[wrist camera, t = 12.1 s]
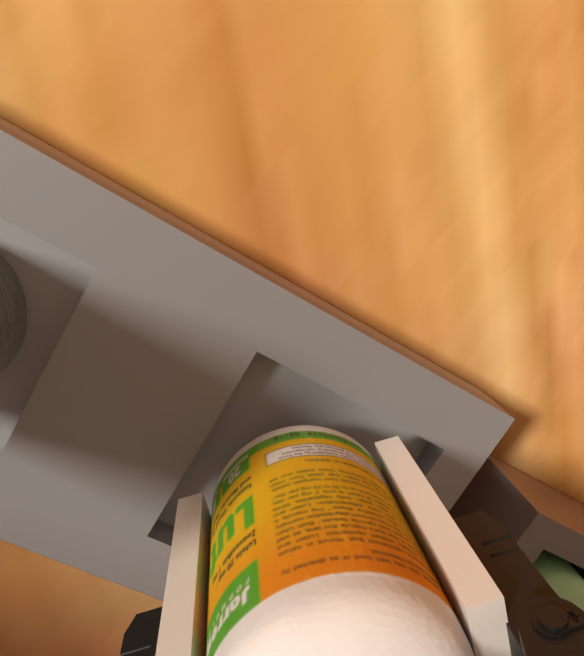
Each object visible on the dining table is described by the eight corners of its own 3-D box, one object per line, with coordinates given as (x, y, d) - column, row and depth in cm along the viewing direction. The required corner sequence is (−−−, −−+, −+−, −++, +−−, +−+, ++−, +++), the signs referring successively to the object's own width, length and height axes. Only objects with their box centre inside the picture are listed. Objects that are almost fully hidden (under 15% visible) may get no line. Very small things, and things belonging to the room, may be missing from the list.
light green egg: (452, 572, 21) (503, 663, 17) (500, 507, 20) (564, 586, 16) (514, 601, 21) (577, 693, 18) (562, 539, 21) (638, 621, 17)
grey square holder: (395, 569, 22) (431, 654, 18) (480, 449, 20) (539, 513, 17) (508, 619, 23) (564, 707, 19) (593, 509, 22) (671, 580, 18)
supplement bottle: (219, 414, 16) (210, 762, 6) (395, 424, 16) (614, 747, 7) (204, 569, 17) (181, 1038, 8) (367, 571, 18) (522, 1001, 9)
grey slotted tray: (-275, 371, 16) (-359, 404, 14) (-145, 35, 14) (-218, 7, 12) (325, 612, 22) (337, 666, 19) (480, 389, 20) (515, 419, 17)
